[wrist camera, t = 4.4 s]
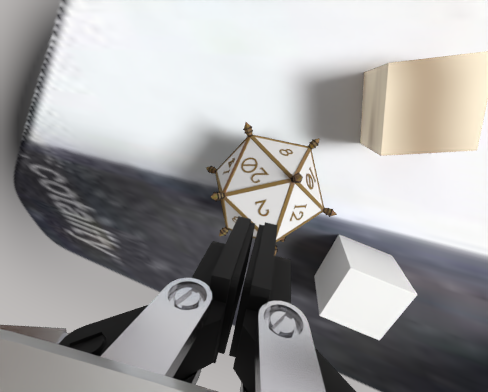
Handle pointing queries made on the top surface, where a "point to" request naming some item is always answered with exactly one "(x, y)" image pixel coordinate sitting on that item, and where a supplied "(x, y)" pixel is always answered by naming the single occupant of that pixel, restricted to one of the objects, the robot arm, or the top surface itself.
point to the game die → (269, 185)
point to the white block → (361, 288)
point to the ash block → (425, 105)
